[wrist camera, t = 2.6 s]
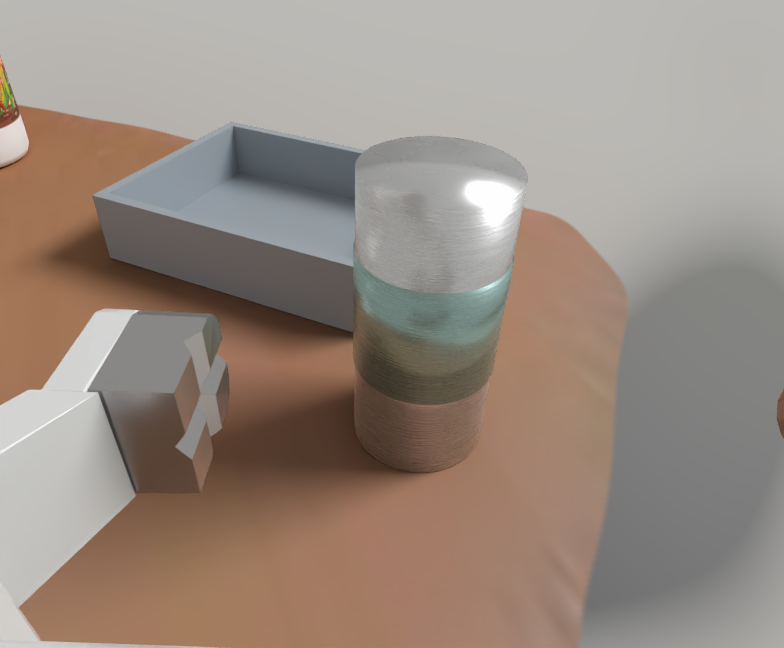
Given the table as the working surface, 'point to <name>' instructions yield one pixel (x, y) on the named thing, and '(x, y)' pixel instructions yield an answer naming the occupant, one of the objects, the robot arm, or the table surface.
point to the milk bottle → (10, 124)
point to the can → (429, 293)
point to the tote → (245, 219)
